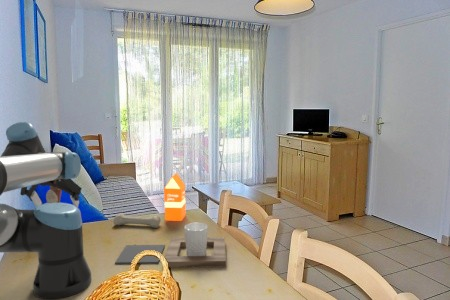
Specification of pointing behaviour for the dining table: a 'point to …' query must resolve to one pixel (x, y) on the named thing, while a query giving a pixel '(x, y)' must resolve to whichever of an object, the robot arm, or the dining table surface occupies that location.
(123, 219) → the dog toy
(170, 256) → the puzzle board
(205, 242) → the white cup
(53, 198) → the vase
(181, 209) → the orange juice
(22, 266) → the dining table surface
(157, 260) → the rubber mat
